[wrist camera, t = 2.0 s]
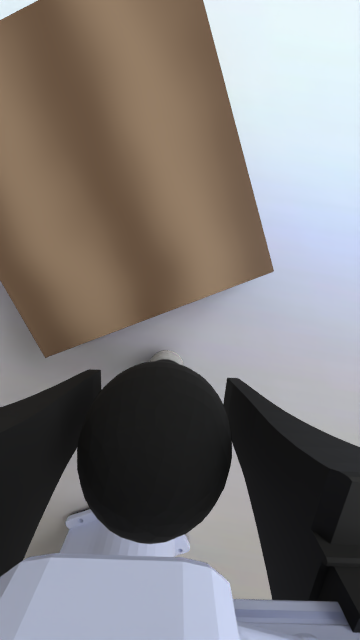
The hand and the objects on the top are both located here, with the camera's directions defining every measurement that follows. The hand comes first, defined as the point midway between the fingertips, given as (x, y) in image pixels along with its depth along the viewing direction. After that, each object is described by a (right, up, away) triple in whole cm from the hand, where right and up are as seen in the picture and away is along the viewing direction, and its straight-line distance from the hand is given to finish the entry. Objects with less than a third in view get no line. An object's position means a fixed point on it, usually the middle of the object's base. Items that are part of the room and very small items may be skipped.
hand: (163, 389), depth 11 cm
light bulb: (0, +1, +4) cm, 4 cm away
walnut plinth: (-3, +11, +2) cm, 12 cm away
